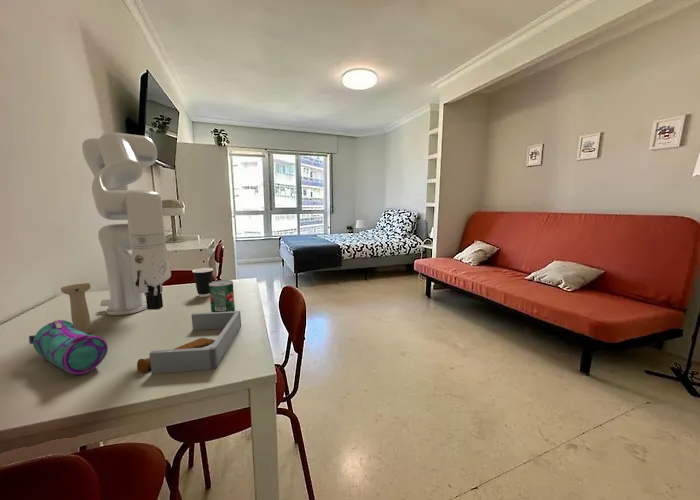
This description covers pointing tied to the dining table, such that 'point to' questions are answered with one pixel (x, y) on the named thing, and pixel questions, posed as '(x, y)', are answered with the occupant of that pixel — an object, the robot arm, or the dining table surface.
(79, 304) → the handle
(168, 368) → the box
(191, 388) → the dining table surface
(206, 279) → the dixie cup
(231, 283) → the canned tomato
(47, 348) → the pencil case
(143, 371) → the primitive tool
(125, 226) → the robot arm
